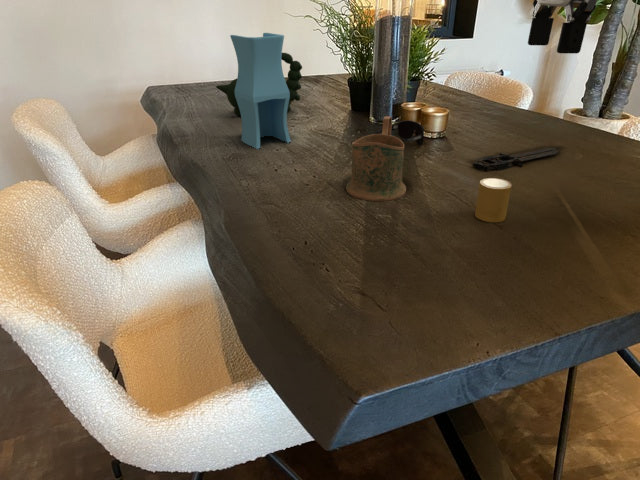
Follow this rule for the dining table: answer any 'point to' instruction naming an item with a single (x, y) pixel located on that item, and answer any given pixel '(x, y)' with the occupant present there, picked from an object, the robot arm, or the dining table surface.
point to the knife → (511, 159)
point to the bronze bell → (377, 166)
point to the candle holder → (492, 200)
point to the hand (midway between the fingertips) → (551, 48)
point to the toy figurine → (291, 83)
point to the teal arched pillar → (261, 88)
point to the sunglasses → (409, 131)
